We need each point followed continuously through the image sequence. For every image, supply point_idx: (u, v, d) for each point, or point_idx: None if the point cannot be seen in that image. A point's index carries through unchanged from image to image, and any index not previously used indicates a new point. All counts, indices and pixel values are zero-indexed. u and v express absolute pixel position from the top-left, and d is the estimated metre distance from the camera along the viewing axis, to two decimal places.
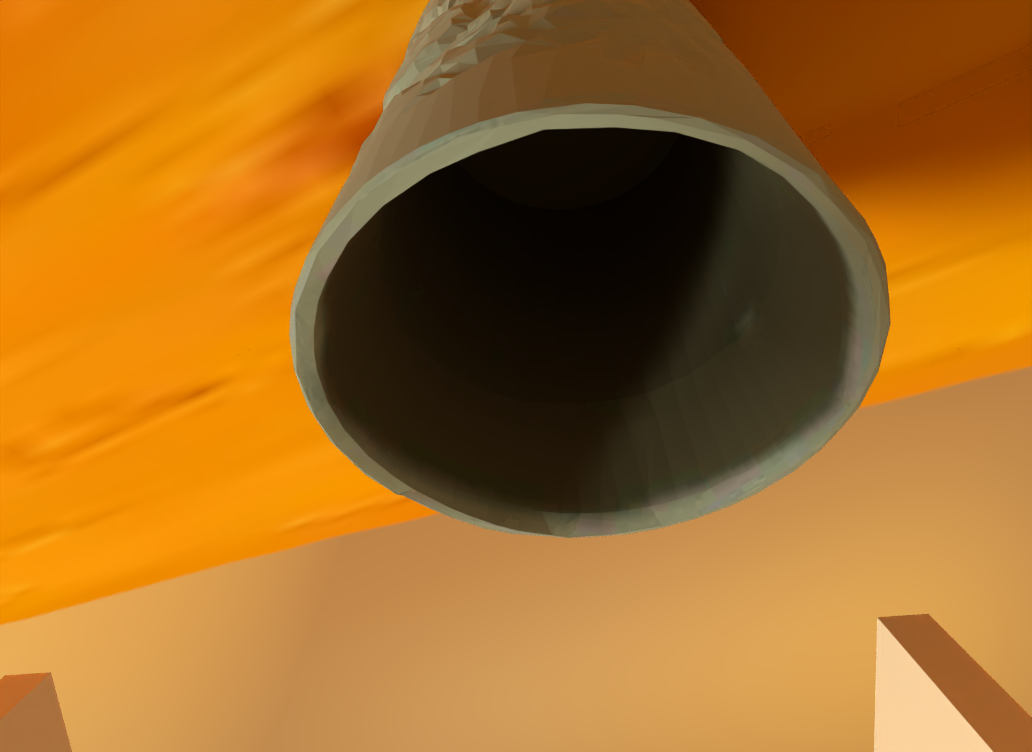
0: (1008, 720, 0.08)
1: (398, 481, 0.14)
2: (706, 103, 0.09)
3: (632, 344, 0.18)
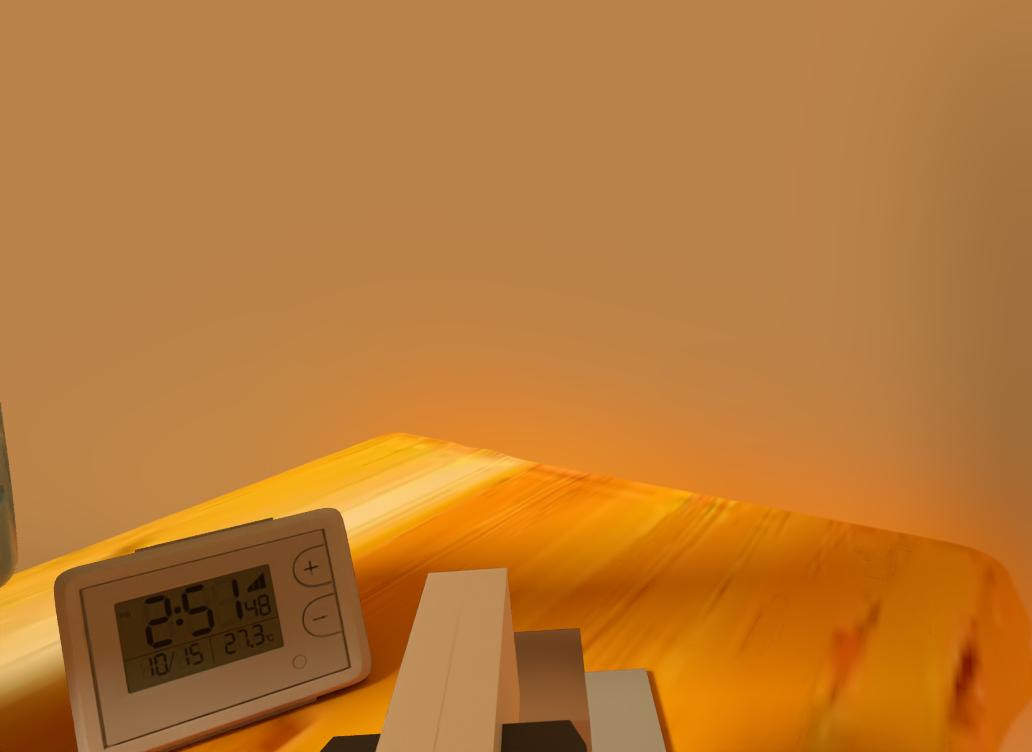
0: (483, 639, 0.11)
1: None
2: None
3: None
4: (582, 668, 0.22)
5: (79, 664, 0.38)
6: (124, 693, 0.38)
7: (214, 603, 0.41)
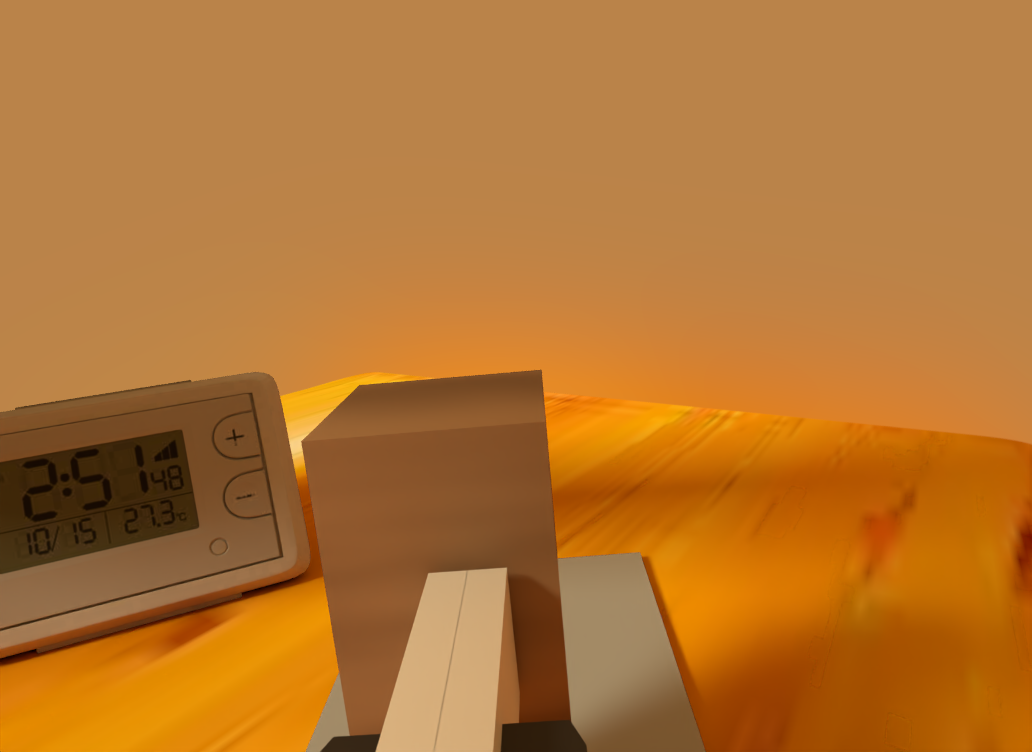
0: (483, 639, 0.11)
1: None
2: None
3: None
4: (540, 391, 0.15)
5: None
6: None
7: (111, 472, 0.33)
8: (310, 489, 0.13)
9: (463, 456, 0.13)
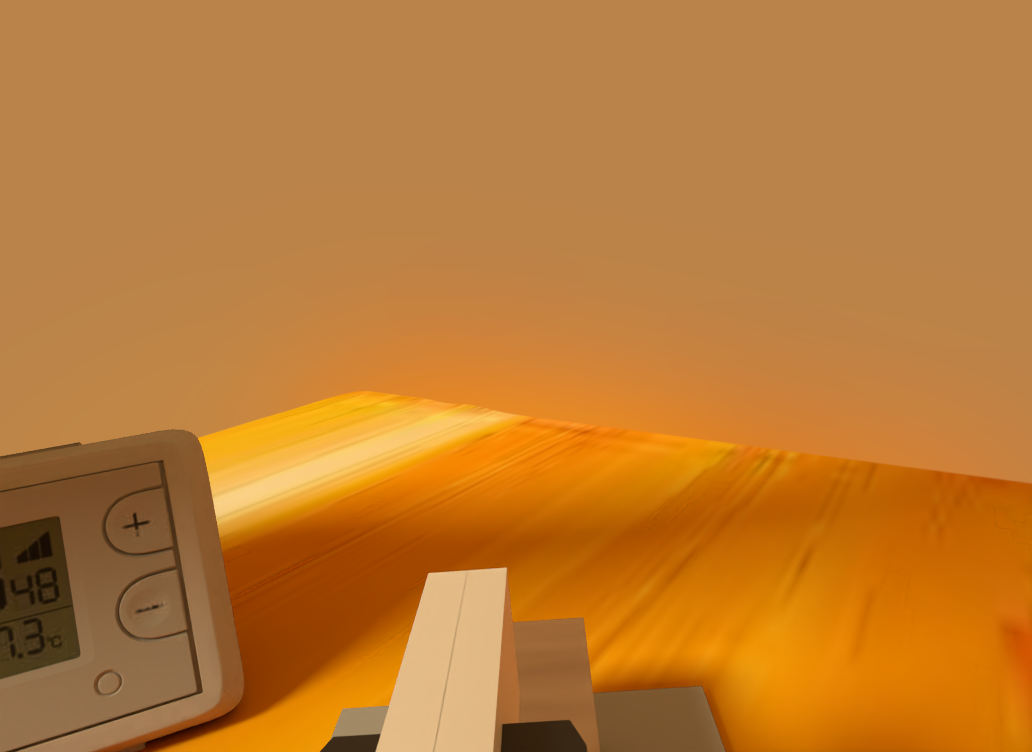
0: (483, 639, 0.11)
1: None
2: None
3: None
4: None
5: None
6: None
7: None
8: None
9: (533, 630, 0.21)
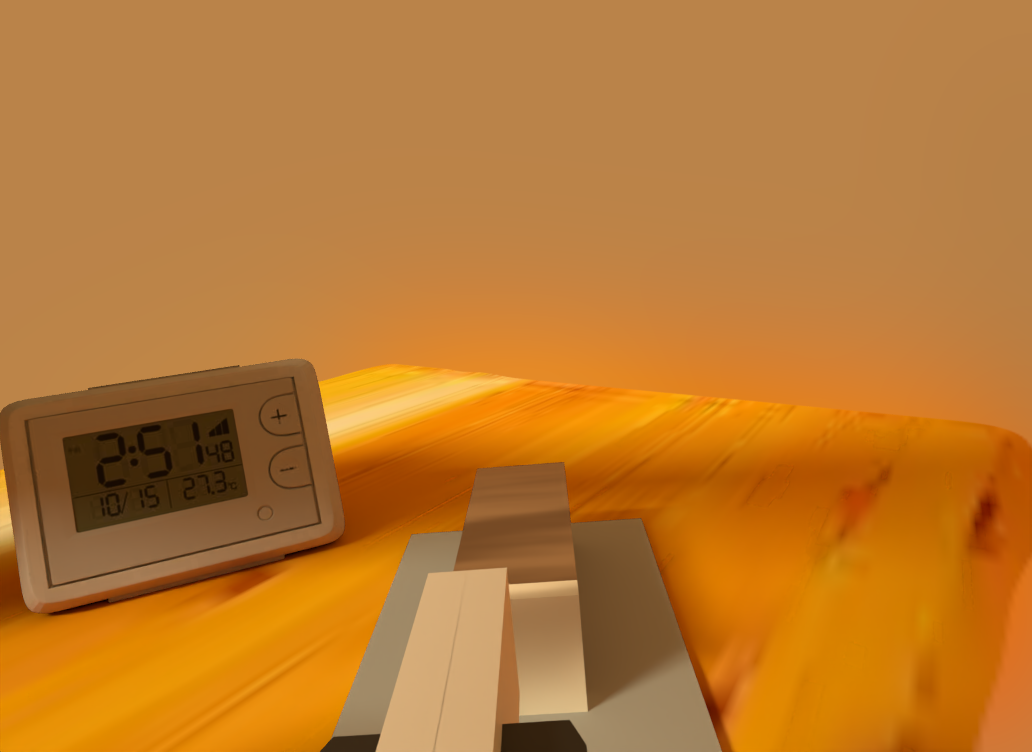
0: (483, 639, 0.11)
1: None
2: None
3: None
4: None
5: (22, 498, 0.35)
6: (72, 531, 0.35)
7: (172, 445, 0.38)
8: None
9: (533, 468, 0.36)
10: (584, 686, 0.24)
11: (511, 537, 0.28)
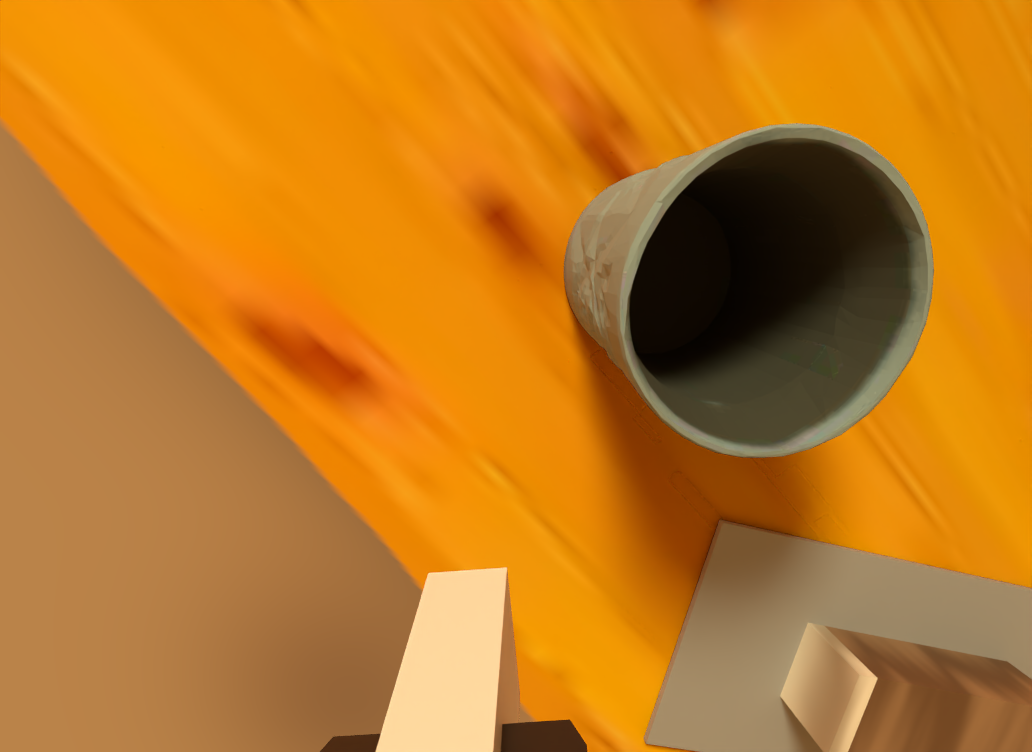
0: (483, 639, 0.11)
1: (673, 199, 0.20)
2: None
3: None
4: None
5: None
6: None
7: None
8: None
9: None
10: (789, 707, 0.37)
11: (926, 727, 0.34)
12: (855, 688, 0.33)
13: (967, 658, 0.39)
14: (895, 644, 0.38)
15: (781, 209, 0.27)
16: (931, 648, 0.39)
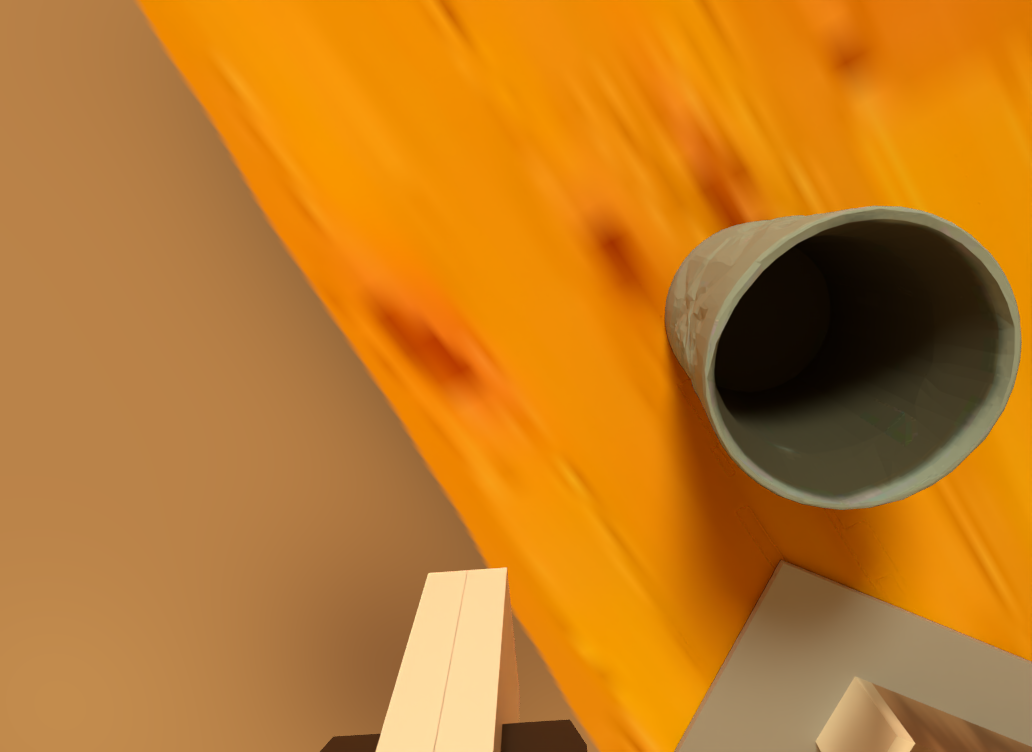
0: (483, 639, 0.11)
1: (771, 261, 0.22)
2: None
3: None
4: None
5: None
6: None
7: None
8: None
9: None
10: None
11: None
12: (890, 748, 0.34)
13: (1018, 747, 0.38)
14: (943, 716, 0.38)
15: (883, 277, 0.28)
16: (981, 728, 0.38)
